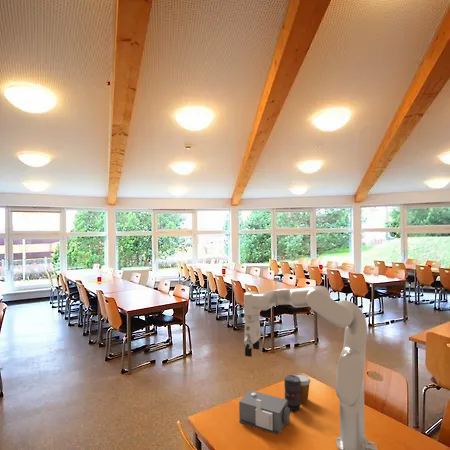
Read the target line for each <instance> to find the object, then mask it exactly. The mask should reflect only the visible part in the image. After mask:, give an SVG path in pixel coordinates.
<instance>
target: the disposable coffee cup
mask: <svg viewBox="0 0 450 450" xmlns="http://www.w3.org/2000/svg"><path fill="white" fill-rule="evenodd" d="M293 375H294V376H297V377H299V378H300V381H301V390H300V398H301V402H300V404H306V403H308V402H309V401H308V400H309V391H310V383H311V378H310V376H308V375H307V374H304V373H296V374H293Z"/></svg>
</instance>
